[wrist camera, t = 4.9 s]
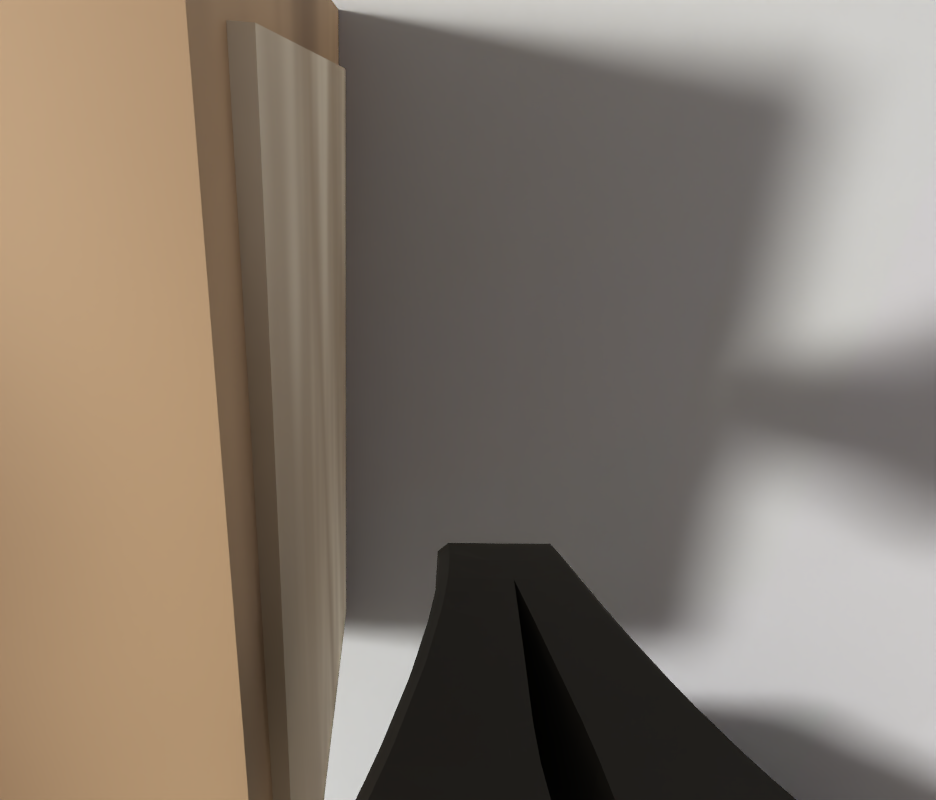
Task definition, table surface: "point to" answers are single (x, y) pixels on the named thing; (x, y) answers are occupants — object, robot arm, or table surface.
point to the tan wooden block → (171, 398)
